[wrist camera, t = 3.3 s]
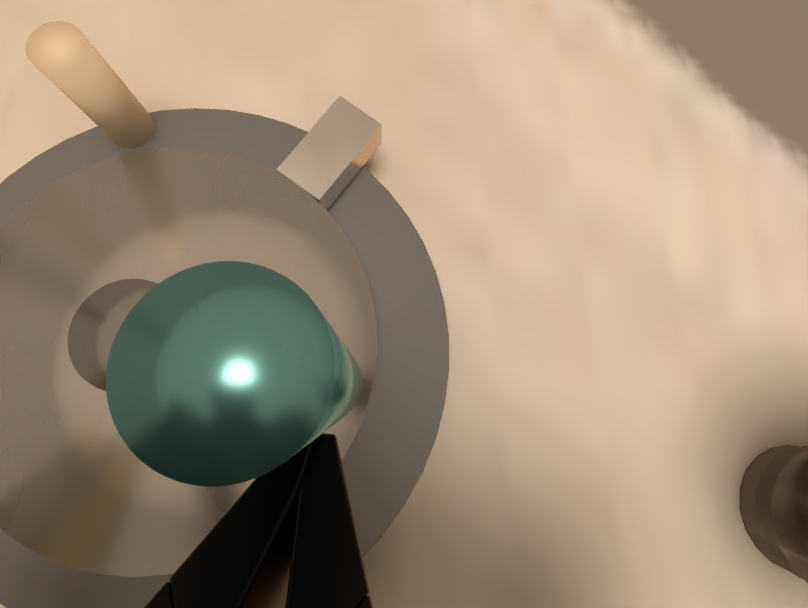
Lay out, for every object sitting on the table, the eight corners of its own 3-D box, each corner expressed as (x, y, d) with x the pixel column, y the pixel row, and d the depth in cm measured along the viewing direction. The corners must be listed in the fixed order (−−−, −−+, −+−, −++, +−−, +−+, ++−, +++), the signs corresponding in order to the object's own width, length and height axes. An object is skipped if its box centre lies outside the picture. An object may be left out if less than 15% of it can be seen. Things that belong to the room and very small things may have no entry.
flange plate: (420, 528, 14) (526, 862, 4) (-46, 588, 13) (-1447, 1242, 3) (378, 114, 17) (379, -293, 7) (-11, 136, 16) (-686, -306, 6)
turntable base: (387, 672, 15) (392, 833, 9) (-151, 561, 15) (-462, 662, 9) (480, 184, 18) (522, 100, 13) (51, 88, 18) (-87, -39, 13)
